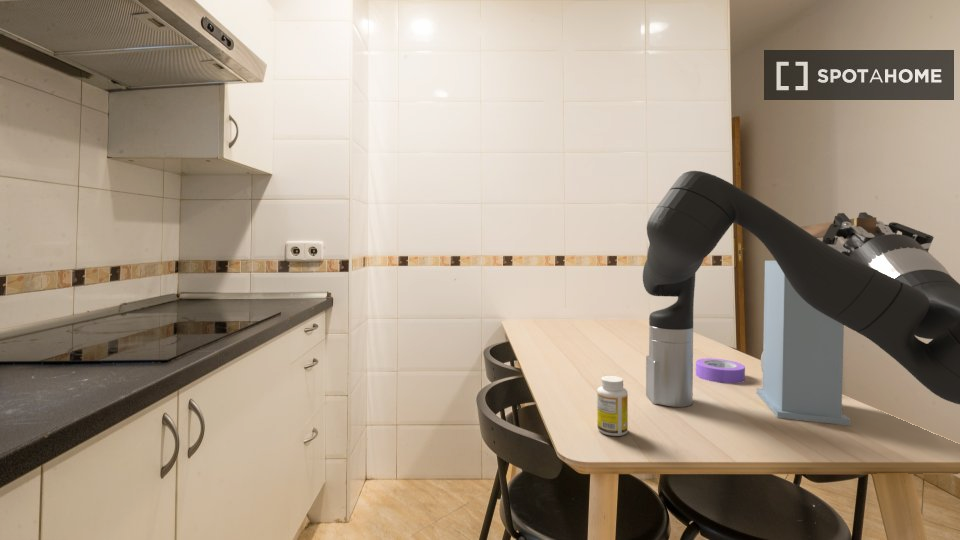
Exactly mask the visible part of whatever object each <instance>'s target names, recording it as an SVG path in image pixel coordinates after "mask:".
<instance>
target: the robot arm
mask: <svg viewBox="0 0 960 540" xmlns="http://www.w3.org/2000/svg"><path fill="white" fill-rule="evenodd" d="M871 217H874V216H873V215H871V214H868V213H867V212H865V211H864V212H859V213H858V216H857V218H871ZM849 219H850V218H849V217H848V216H847V215H846V213H844V212H838V213H837V214H836V215H835V216H834V218H833V221H832V222H833V224H831V225H830V226H829V228H828V230H827V232H826V233H825V235H824V237H822V240H820V239H819V238H816V237H814V236H813V235H811V234H810V233H808V232H807V231H805V230H803V229H802V228H801V226H799V225H797V224H796V223H794V221H791V220H789V219H788V218H787V217H785V216H784V215H782V214H781V213H779V212H778V211H776V210H775V209H773V208H771V207H770V206H768V205H766V204H765V203H763V202H762V201H760V200H758V199H757V198H755V197H754V196H752V195H750V194H749V193H747V192H746V191H744V190H742V189H741V188H739V187H737V186H736V185H734V184H732V183H731V182H729V181H727V180H725V179H723V178H721V177H719V176H717V175H714V174H711V173H709V172H706V171H700V170H690V171H687V172H684V173H682V174H681V175H679V177H678V178H677V179H676V181H675V182H674V183H673V184H672V186H671V187H670V188H669V190H668V191H667V192H666V194H665V195H664V197H663V198H662V199H661V201H660V202H659V203H658V204H657V206H656V208H655V209H654V210H653V211H652V213H651V214H650V217H649V218H648V220H647V224H646V233H647V234H646V236H647V238H648V241H649V245H648V248H647V249H648V250H647V254H646V261H645V263H644V265H643V271H642V282H643V283H642V284H643V287H644V290H645V291H646V292H647V294H649V295H651V296H654V297H672V298H673V297H677V300H676V301H675V302H674V303H673V304H671V305H670V306H668V307H665V308H662V309H659V310H655V311H652V312H651V313H650V314H649V318H648V320H649V321H648V324H649V325H648V326H649V327H648V330H649V332H648V355H646V357H645V358H646V361H645V362H646V363H645V396H646V397H647V398H648V399H649V400H650V401H651V403H653V404H654V405H662V406H667V407H675V408H676V407H679V408H684V407H689V406H691V405H693V396H694V394H693V393H694V392H693V389H694V387H693V383H694V382H693V381H694V379H693V377H694V373H693V372H694V302H695V301H694V298H695V286H696V273H697V271H699V269H700V267H701V266H702V264H703V263H704V259H705V258H706V257H707V256H709V254H710V253H712V251H713V250H714V249H715V248H716V246H717V245H718V244H719V243H720V241H721V239H722V238H723V236H724V235H725V234H726V233H727V231H728V230H729V229H730V227H731V226H733V224H734V223H735V224H737V225H738V226H740V227H742V228H744V229H745V230H747V231H748V232H750V233H751V234H752V235H754V236H755V237H756V238H757V239H758V240H759V241H760V242H761V243H762V244H763V245H764V246H765V247H766V249H767V251H768V252H769V253H770V255H772V257H773V258H774V261H776V262H777V263H778V265H779V266H780V268H781V270H782V271H783V273H784V275H785V276H786V278H787V279H788V281H789V282H790V284H791V285H792V287H793V288H794V290H795V291H796V292H797V293H798V294H799V295H800V297H801V298H802V299H804V300H805V301H806V302H807V303H808V304H809V305H811V306H812V307H813V308H815V309H816V310H818V311H819V312H821V313H823V314H825V315H826V316H828V317H830V318H832V319H834V320H835V321H837V322H839V323H841V324H843V325H844V327H847V328H849V329H850V330H852V331H854V332H856V333H857V334H860V335H861V336H863V337H864V338H867V339H868V340H869V341H871V342H872V343H874V344H875V345H876V346H878V347H879V348H880V349H881V350H882V351H883V352H884V353H886V354H888V356H890V357H891V358H893V360H895V361H896V362H897V363H898V364H899V365H900V366H902V367H903V368H904V369H905V370H907V372H909V373H910V374H911V375H912V376H913V377H914V378H915V379H916V380H917V381H918V382H919V383H920V384H921V385H923V387H925V388H926V389H928V390H929V392H931V393H932V394H934V395H935V396H938V398H940V399H943V400H945V401H947V402H950V403H953V404H955V405H960V283H959V282H958V281H957V280H956V279H955V278H954V277H952V276H951V274H950V273H949V271H948V270H947V269H946V267H945V266H944V264H942V263H941V262H940V261H939V260H938V259H936V257H934V256H933V254H931V253H930V252H929V250H930V248H931V245H932V243H933V240H934V236H933V235H931V234H928V233H926V232H923V231H920V230H917V229H915V228H912V227H909V226H906V225H904V224H901V223H898V222H894V221H893V222H889V223H888V224H884V222H883V221H881V220H877V219H876V228H875V232H874V233H868V232H867V231H866V230H864V229H863V228H862V227H861V226H855V225H854V224H852V223H851V221H850V220H849ZM898 232H900V233H901V234H899V233H898ZM839 238H840V239H841V240H842V241H843V242H844V243H842V242H841V241H840V239H839ZM919 338H922V339H924V340H925V339H927V340H930V341H929V342H928V343H926V342H924V341H922V340H920V339H919Z"/></svg>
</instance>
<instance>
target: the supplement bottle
mask: <svg viewBox="0 0 960 540" xmlns="http://www.w3.org/2000/svg"><path fill="white" fill-rule="evenodd" d="M600 384H601V385H600V386H599V387H597V391H596V392H597V393H596V395H597V396H596V397H597V398H596V401H597V402H596V403H597V405H596V406H597V407H596V408H597V409H596V410H597V420H596V421H597V422H596V423H597V430H598V431H599V432H600V433H601V434H604V435H607V436H609V437H610V436H611V437H621V436H625V435H626V434H627V433H628V431H629V429H628V424H629V423H628V419H629V418H628V410H629V409H628V408H629V407H628V401H629V400H628V399H629V398H628V390H627V389H626V388H624V379H623V377H619V376H615V375H605V376H602V377H601V383H600Z"/></svg>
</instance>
